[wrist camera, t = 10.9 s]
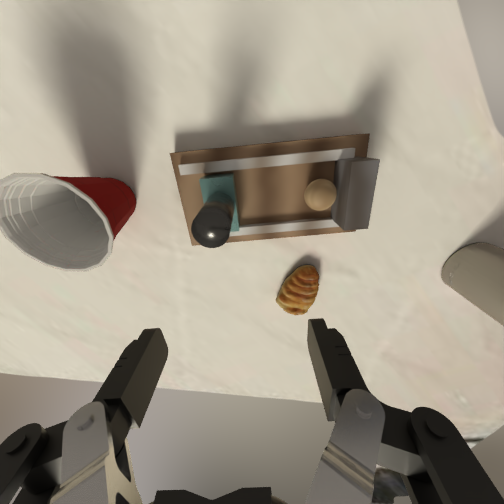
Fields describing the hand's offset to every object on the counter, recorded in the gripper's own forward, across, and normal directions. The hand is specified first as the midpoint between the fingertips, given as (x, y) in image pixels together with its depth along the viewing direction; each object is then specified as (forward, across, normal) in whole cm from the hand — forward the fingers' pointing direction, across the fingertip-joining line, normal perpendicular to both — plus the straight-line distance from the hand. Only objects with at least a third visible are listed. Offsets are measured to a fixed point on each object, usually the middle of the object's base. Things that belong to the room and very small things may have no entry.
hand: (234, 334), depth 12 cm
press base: (+24, -4, -2) cm, 24 cm away
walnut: (+20, -10, -2) cm, 22 cm away
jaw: (+21, +3, -2) cm, 22 cm away
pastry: (+24, -8, +15) cm, 30 cm away
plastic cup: (+24, +19, -3) cm, 30 cm away
